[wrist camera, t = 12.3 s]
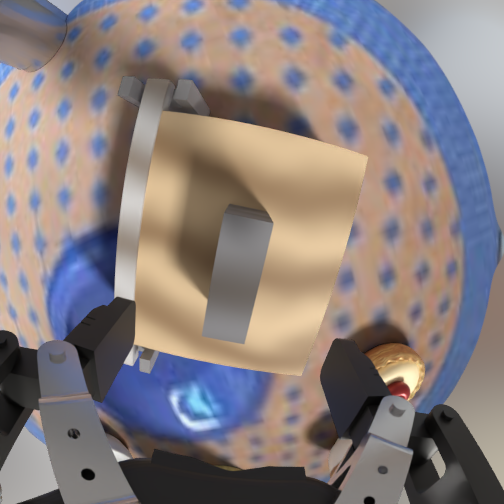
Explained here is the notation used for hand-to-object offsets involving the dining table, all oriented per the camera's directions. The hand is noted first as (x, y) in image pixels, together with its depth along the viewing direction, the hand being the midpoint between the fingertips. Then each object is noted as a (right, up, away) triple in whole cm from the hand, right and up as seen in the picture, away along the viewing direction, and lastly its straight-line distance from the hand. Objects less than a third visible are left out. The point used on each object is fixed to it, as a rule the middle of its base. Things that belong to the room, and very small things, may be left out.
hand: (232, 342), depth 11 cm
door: (0, +3, +12) cm, 13 cm away
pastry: (+20, -14, +26) cm, 36 cm away
